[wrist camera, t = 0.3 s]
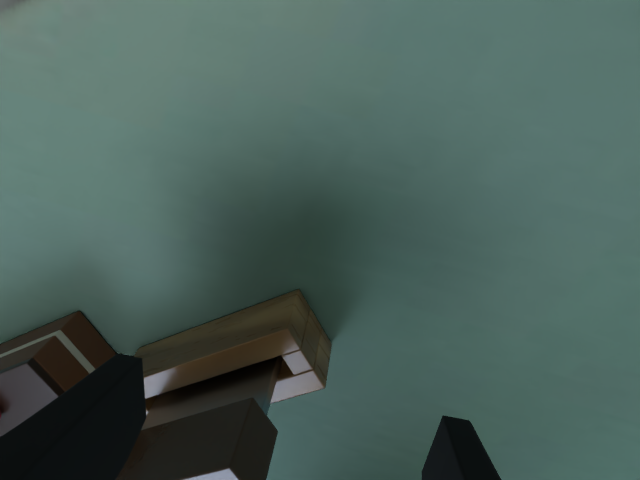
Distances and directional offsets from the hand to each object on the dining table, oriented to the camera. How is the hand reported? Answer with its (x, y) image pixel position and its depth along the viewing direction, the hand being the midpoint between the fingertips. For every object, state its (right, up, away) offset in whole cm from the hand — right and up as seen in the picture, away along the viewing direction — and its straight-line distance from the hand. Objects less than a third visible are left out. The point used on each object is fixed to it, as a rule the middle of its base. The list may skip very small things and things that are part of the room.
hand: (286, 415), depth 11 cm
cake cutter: (-4, -1, +13) cm, 13 cm away
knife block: (-4, -1, +13) cm, 13 cm away
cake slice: (-14, -3, +15) cm, 21 cm away
